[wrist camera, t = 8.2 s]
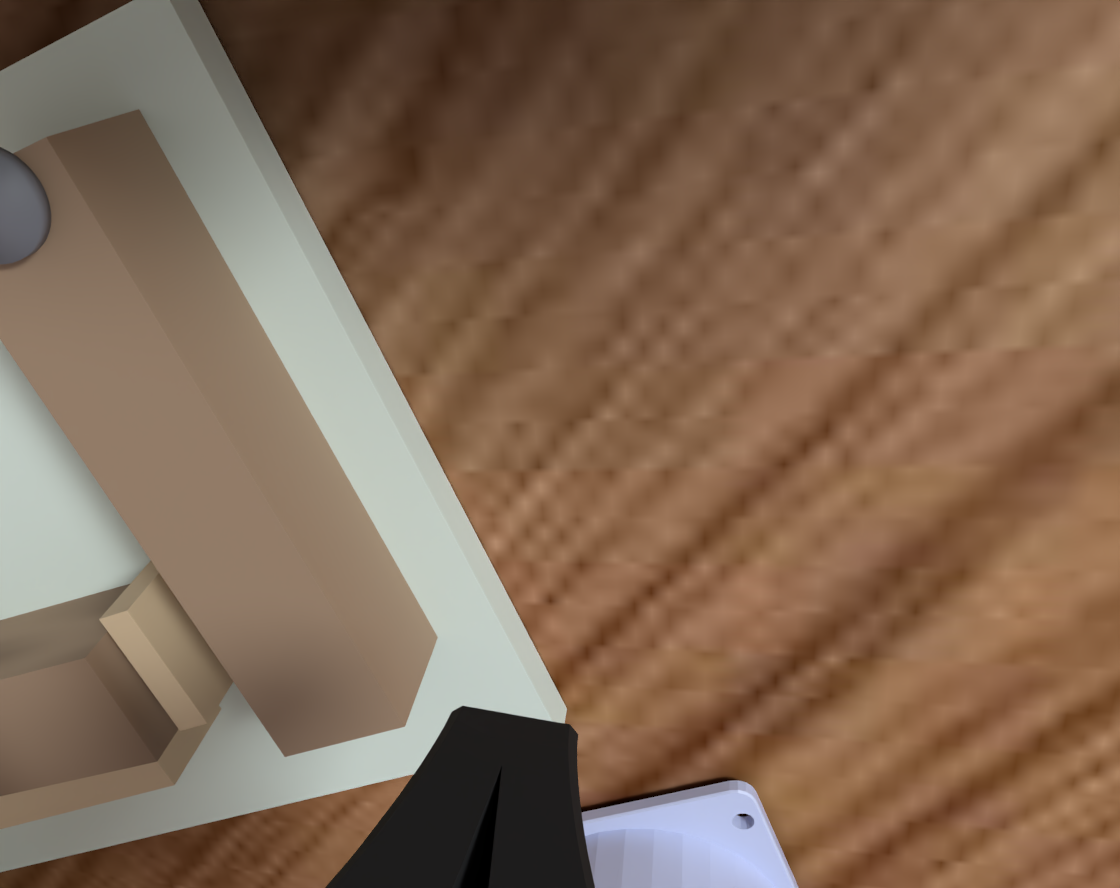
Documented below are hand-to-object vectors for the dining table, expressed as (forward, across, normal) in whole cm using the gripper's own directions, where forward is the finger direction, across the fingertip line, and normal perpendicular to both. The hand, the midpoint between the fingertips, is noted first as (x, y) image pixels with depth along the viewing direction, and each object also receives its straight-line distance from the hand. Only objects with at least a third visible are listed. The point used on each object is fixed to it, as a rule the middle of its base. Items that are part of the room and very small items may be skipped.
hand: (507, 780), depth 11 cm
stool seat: (+10, +13, +6) cm, 18 cm away
